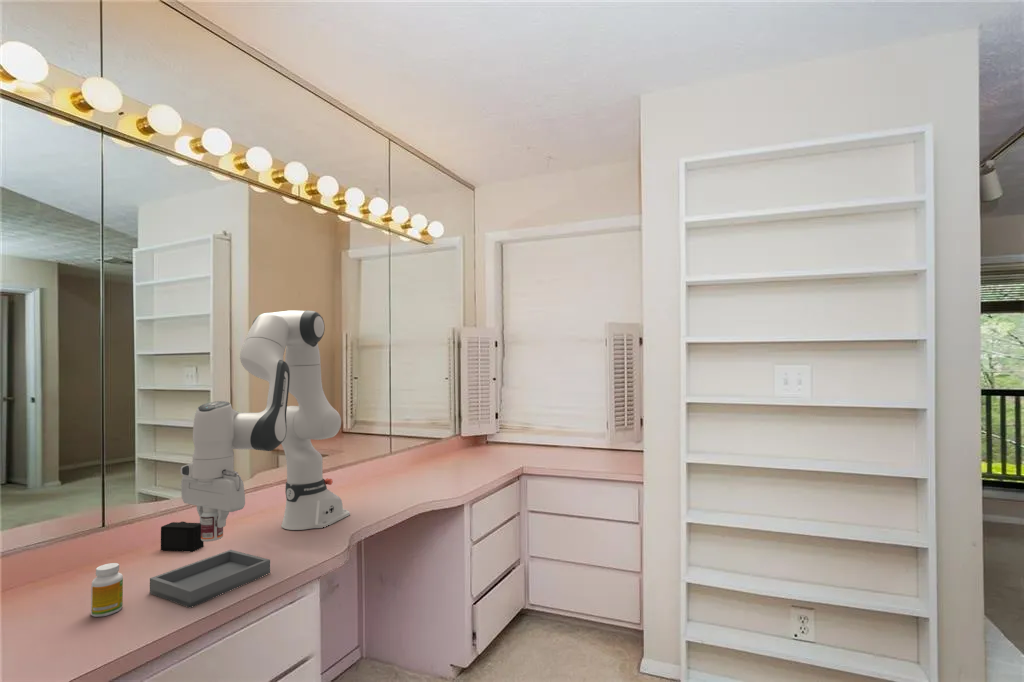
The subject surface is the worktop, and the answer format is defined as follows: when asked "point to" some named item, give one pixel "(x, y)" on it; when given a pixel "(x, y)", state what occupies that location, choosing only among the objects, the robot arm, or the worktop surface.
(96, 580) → the supplement bottle
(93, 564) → the worktop surface
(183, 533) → the digital camera
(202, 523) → the pill bottle
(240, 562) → the tray
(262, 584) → the worktop surface
